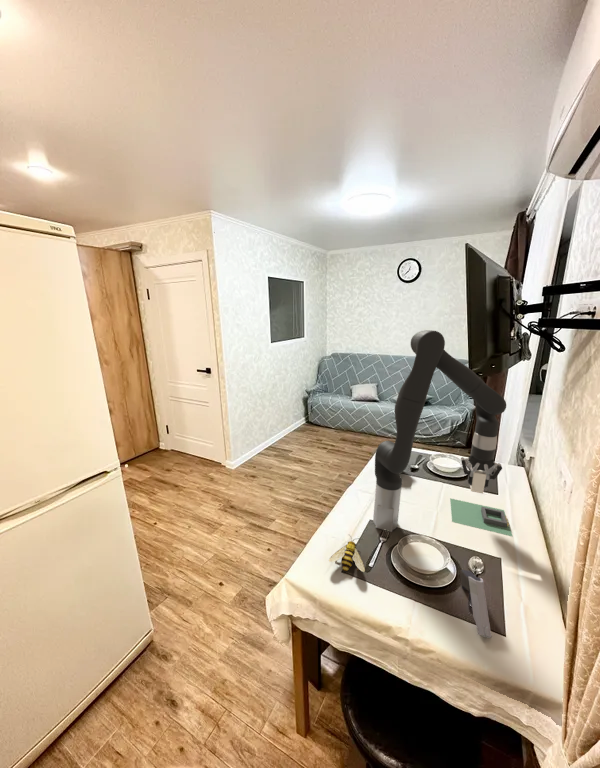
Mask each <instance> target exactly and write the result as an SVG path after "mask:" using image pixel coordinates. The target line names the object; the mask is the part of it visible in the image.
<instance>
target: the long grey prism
mask: <svg viewBox="0 0 600 768" xmlns="http://www.w3.org/2000/svg"><path fill="white" fill-rule="evenodd" d="M459 572H460V585H461V589H462V590H467V591H468V596H469V597H468V599H469V602H470V603H469V604H470V605H471V607H472V608H471V609H472V616H473V620H474V622H475V625H476V631H477V635H478V636H482V637H483V638H492V632H491V625H490V619H489V617H490V616H489V612H488V603H487V599H486V592H485V583H484V579H483V578H481V577H477V576H476V575H475V574H474V573H473V572H472V571H471V570H466V569H460V570H459Z"/></svg>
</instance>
